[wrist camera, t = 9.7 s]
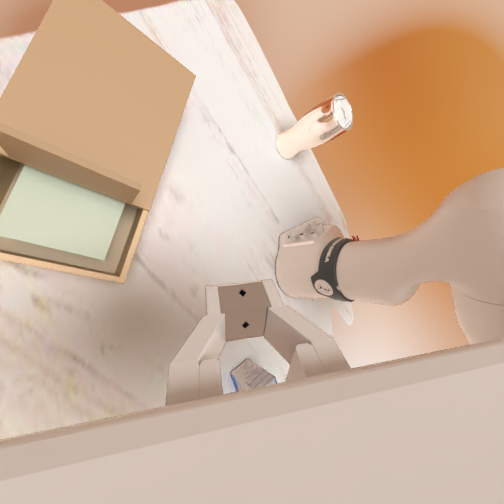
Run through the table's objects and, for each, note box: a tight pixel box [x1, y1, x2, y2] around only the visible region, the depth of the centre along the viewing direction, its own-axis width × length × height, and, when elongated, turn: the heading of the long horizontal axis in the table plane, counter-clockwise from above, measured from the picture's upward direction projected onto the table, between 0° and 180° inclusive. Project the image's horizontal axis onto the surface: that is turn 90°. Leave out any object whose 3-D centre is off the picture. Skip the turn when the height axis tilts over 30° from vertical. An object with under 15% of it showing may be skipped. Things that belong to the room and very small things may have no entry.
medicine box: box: [231, 359, 277, 392], centre depth 40 cm, size 8×4×9 cm, turn 21°
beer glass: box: [276, 93, 353, 159], centre depth 46 cm, size 7×7×15 cm
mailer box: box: [0, 155, 149, 284], centre depth 26 cm, size 20×14×8 cm
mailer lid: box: [0, 0, 196, 211], centre depth 22 cm, size 20×14×6 cm
